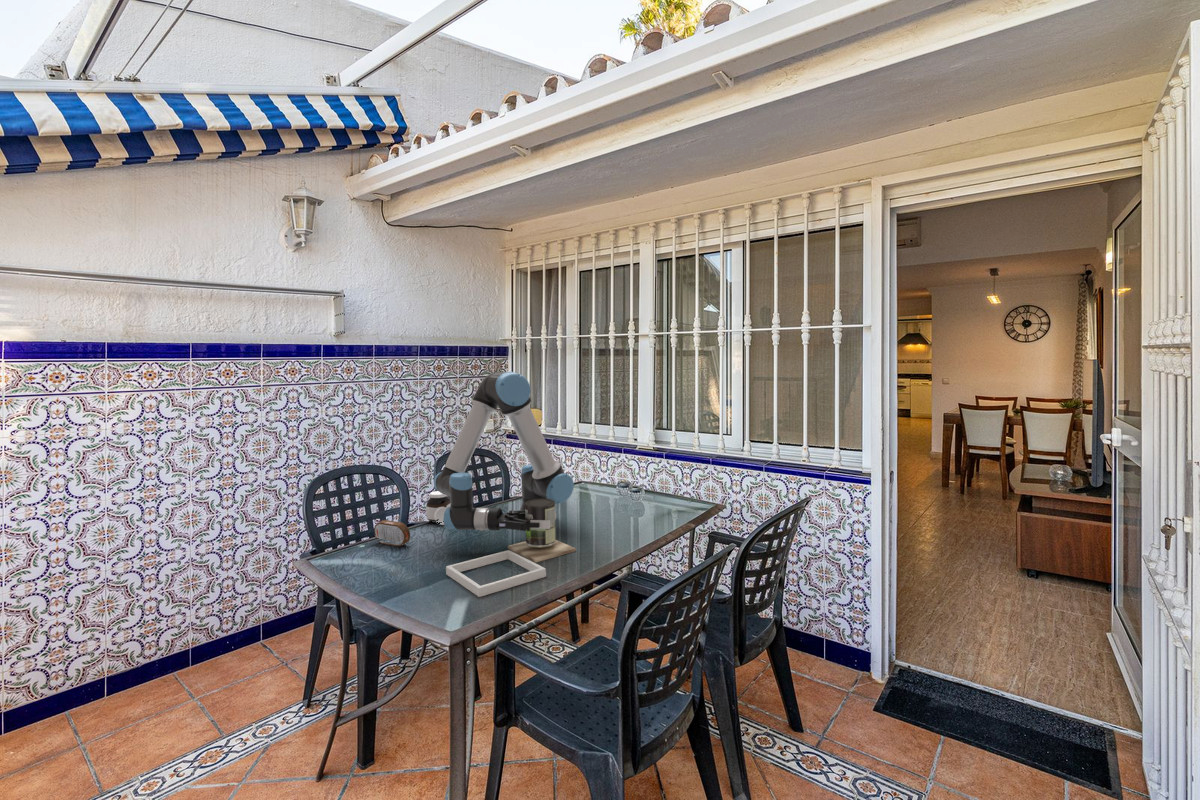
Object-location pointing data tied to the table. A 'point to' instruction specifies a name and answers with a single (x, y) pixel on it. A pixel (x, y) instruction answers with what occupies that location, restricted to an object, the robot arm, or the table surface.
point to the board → (541, 550)
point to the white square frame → (483, 590)
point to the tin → (392, 532)
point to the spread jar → (437, 506)
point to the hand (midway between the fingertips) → (552, 519)
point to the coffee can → (540, 511)
